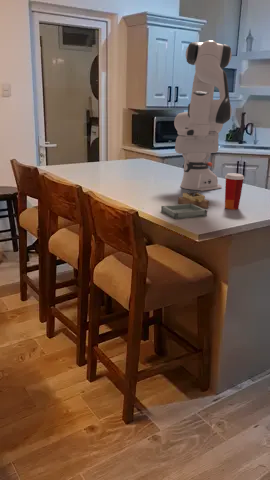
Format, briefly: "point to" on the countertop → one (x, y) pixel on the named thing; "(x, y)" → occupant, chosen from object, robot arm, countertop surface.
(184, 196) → the ring
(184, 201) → the stake base
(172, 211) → the tray
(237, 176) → the coffee cup
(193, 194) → the stake
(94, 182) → the countertop surface
